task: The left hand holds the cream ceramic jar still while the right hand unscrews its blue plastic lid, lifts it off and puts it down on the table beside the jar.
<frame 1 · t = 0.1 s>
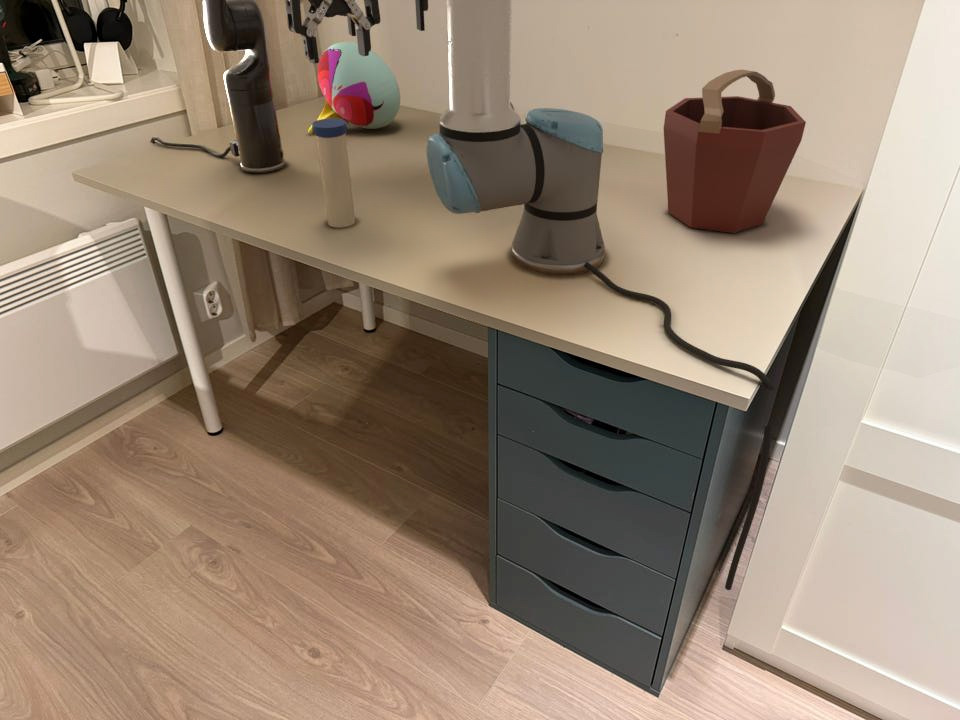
left hand: (339, 59, 109), 29 cm above the table, tool pointing down, fingers open, 8 cm apart
right hand: (387, 32, 136), 28 cm above the table, tool pointing down, fingers open, 13 cm apart
beverage cup: (497, 171, 152), on the table
jar: (341, 222, 130), on the table
lid: (329, 125, 120), point 18 cm above the table, screwed on, not yet turned
bucket: (711, 214, 132), on the table
toy: (354, 128, 180), on the table
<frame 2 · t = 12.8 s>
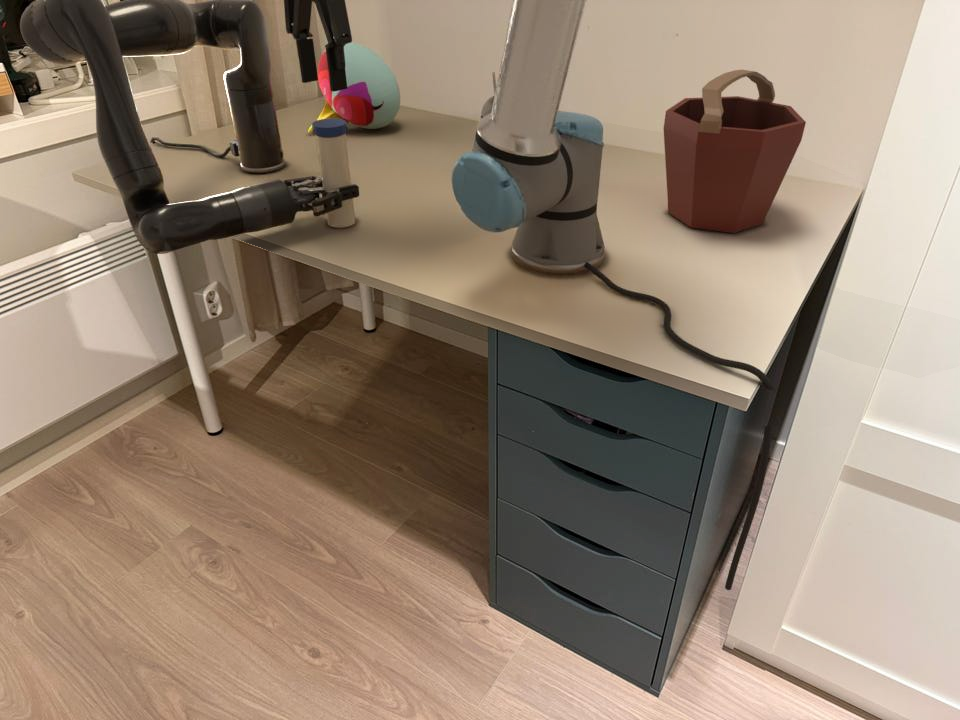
left hand: (350, 185, 128), 6 cm above the table, tool horizontal, fingers closed on jar, 5 cm apart
right hand: (324, 85, 117), 24 cm above the table, tool pointing down, fingers open, 8 cm apart
jar: (341, 222, 130), on the table, touching left hand
everything else where it was.
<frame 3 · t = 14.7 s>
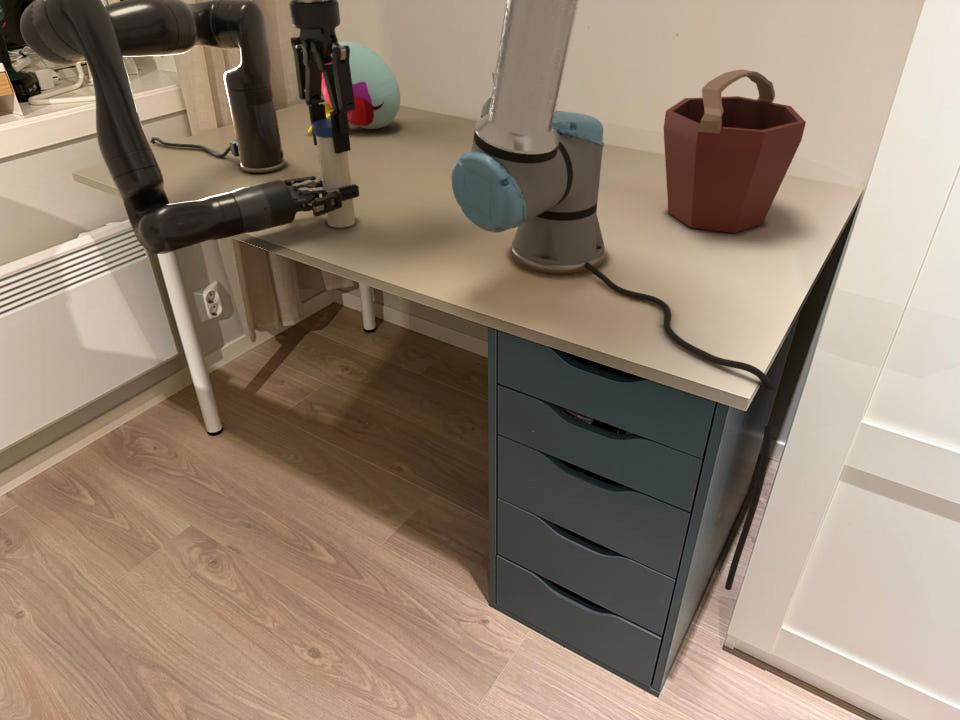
left hand: (350, 185, 128), 6 cm above the table, tool horizontal, fingers closed on jar, 5 cm apart
right hand: (332, 147, 122), 14 cm above the table, tool pointing down, fingers closed on lid, 6 cm apart
jar: (341, 222, 130), on the table, touching left hand
lid: (329, 125, 120), point 18 cm above the table, screwed on, not yet turned, touching right hand
everything else where it was.
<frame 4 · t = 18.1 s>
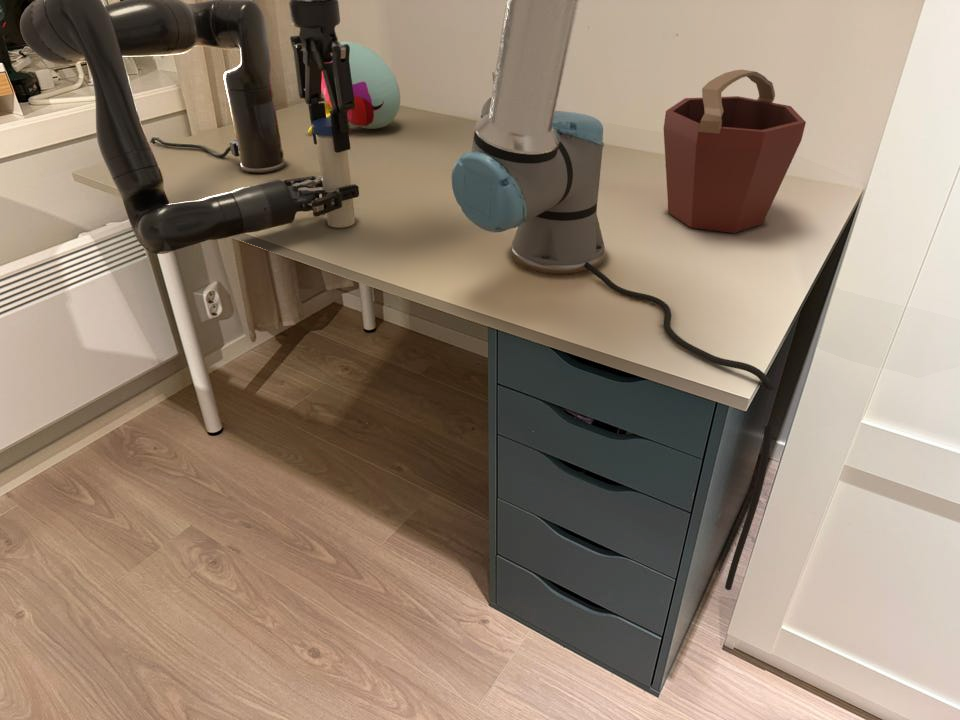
left hand: (350, 185, 128), 6 cm above the table, tool horizontal, fingers closed on jar, 5 cm apart
right hand: (332, 146, 122), 14 cm above the table, tool pointing down, fingers closed on lid, 6 cm apart
jar: (341, 222, 130), on the table, touching left hand
lid: (329, 124, 120), point 18 cm above the table, turned 114° so far, risen 0.2 cm, still on its thread, touching right hand
everything else where it was.
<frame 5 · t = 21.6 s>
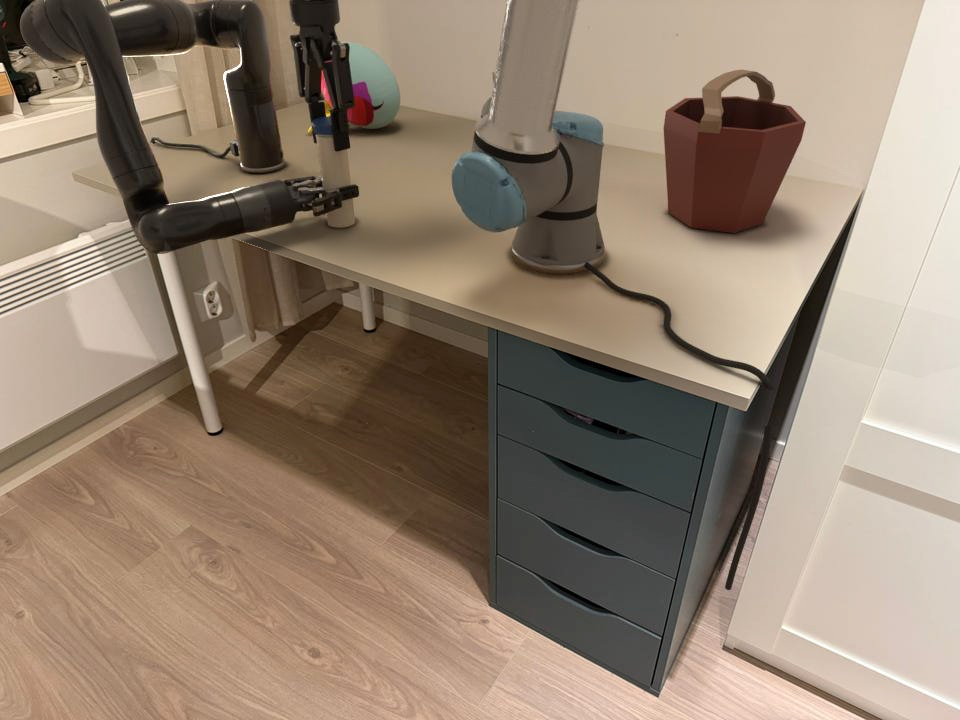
left hand: (350, 185, 128), 6 cm above the table, tool horizontal, fingers closed on jar, 5 cm apart
right hand: (331, 145, 122), 14 cm above the table, tool pointing down, fingers closed on lid, 6 cm apart
jar: (341, 222, 130), on the table, touching left hand
lid: (329, 122, 120), point 18 cm above the table, turned 228° so far, risen 0.3 cm, still on its thread, touching right hand
everything else where it was.
when the right hand's fingers open (0 cm above the table, at t = 33.3 s): lid stays where it is, point 1 cm above the table.
when the left hand's fingers open (6 cm above the table, at t = 34.0 s): jar stays where it is, on the table.
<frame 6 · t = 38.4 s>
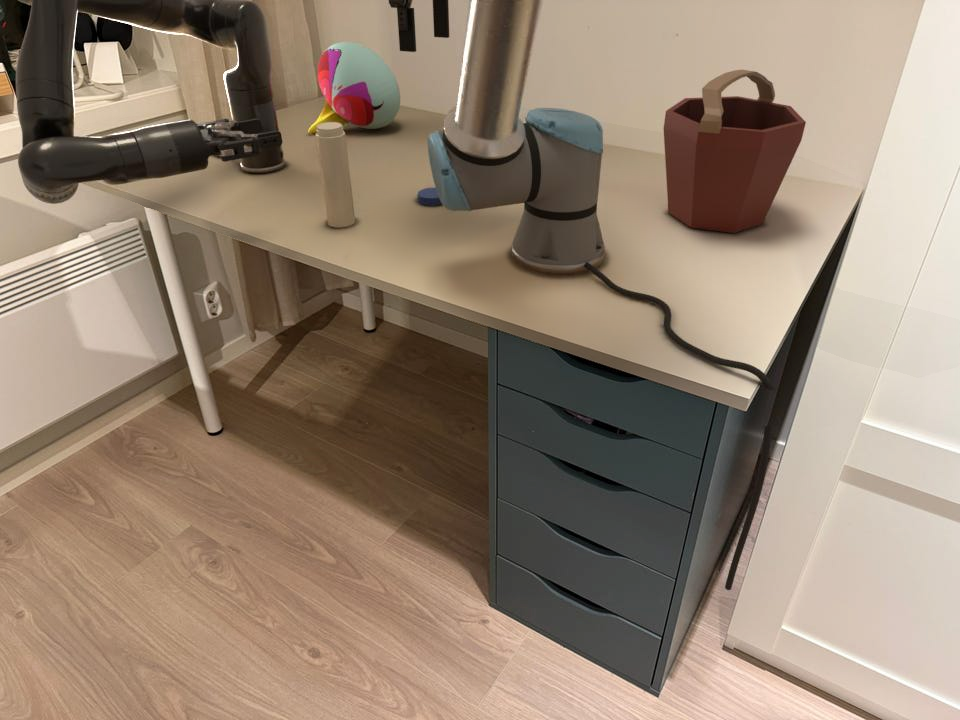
left hand: (270, 131, 115), 18 cm above the table, tool horizontal, fingers open, 8 cm apart
right hand: (425, 44, 123), 29 cm above the table, tool pointing down, fingers open, 13 cm apart
jar: (341, 222, 130), on the table
lid: (432, 194, 138), point 1 cm above the table, off its thread
everything else where it was.
at the end: lid came off its thread; lid point 1.2 cm above the table; the left hand is holding nothing; the right hand is holding nothing; jar tilted 0°; jar moved 0.0 cm from its start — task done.
